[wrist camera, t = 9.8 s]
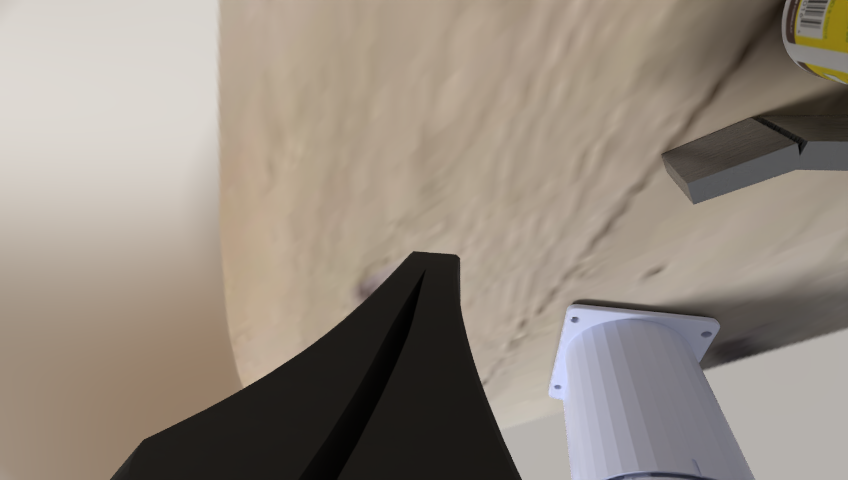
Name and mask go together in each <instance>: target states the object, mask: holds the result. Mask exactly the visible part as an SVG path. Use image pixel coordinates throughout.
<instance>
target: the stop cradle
mask: <svg viewBox="0 0 848 480" xmlns="http://www.w3.org/2000/svg"><path fill="white" fill-rule="evenodd" d="M661 155H662V158H663V161H664V164H665V167H666V170H667V173H668V174H669V175H670V176H671V178H672V179H673V180H674V181H675V183H676V184H677V185H678V186H679V187H680V189H681V190H682V191H683V192H684V194H685V195H686V196H687V197H688V198H689V200H690V201H691V202H692V203H693V204H697V203H700V202H703V201H706V200H708V199H711V198H714V197H717V196H720V195H723V194H726V193H729V192H732V191H735V190H738V189H741V188H744V187H747V186H750V185H752V184H755V183H758V182H761V181H764V180H767V179H770V178H773V177H776V176H779V175H782V174H785V173H788V172H791V171H794V170H842V171H848V115H838V116H759V117H758V119H757V121H756V120H754V119H752V118H749V119H746V120H744V121H741V122H739V123H736V124H734V125H732V126H729V127H727V128H724V129H722V130H719V131H717V132H715V133H712V134H710V135H707V136H705V137H702V138H700V139H698V140H695V141H693V142H690V143H688V144H686V145H683V146H681V147H678V148H676V149H673V150H671V151H669V152H666V153H664V154H661Z"/></svg>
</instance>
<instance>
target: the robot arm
mask: <svg viewBox="0 0 848 480" xmlns="http://www.w3.org/2000/svg"><path fill="white" fill-rule="evenodd" d="M572 317H577V318H572ZM719 329H720V325H719V323H718V321H717V320H716V319H714V318H709V317H699V316H689V315H680V314H670V313H660V312H650V311H640V310H630V309H620V308H611V307H601V306H591V305H581V304H573V305H570V306H569V307H568V308H567V312H566V316H565V320H564V325H563V329H562V333H561V338H560V342H559V346H558V351H557V355H556V359H555V364H554V368H553V372H552V377H551V381H550V385H549V396H550V397H552V398H555V399H561V400H563V404H564V413H565V422H566V431H567V440H568V450H569V458H570V468H571V477H572V480H755V478H754V476H753V474H752V472H751V470H750V468H749V466H748V464H747V462H746V460H745V458H744V456H743V453H742V451H741V449H740V447H739V445H738V443H737V441H736V439H735V437H734V435H733V433H732V431H731V429H730V427H729V425H728V422H727V420H726V418H725V417H724V414H723V412H722V410H721V408H720V406H719V404H718V402H717V400H716V398H715V396H714V394H713V392H712V390H711V388H710V385H709V383H708V381H707V379H706V377H705V375H704V373H703V371H702V369H701V367H700V365H699V363H700V361H701V359H702V358H703V356H704V354H705V353H706V351H707V349H708V348H709V346H710V344H711V343H712V341H713V339H714V338H715V336H716V334H717V333H718V331H719ZM705 331H706V332H705ZM110 480H522V479H521V477H520V475H519V473H518V471H517V468H516V466H515V464H514V462H513V460H512V457H511V455H510V453H509V451H508V448H507V446H506V444H505V442H504V439H503V437H502V435H501V432H500V430H499V427H498V425H497V422H496V420H495V417H494V415H493V412H492V410H491V407H490V405H489V403H488V400H487V398H486V395H485V392H484V389H483V386H482V384H481V381H480V378H479V375H478V372H477V369H476V366H475V363H474V360H473V356H472V353H471V350H470V346H469V342H468V338H467V334H466V330H465V326H464V322H463V317H462V312H461V306H460V258H459V257H458V256H457V255H454V254H441V253H429V252H416V251H413V252H412V253H411V254H410V255H409V256H408V257H407V258H406V259H405V260H404V261H403V262H402V264H401V265H400V266H399V267H398V268H397V269H396V270H395V271H394V272H393V273H392V274H391V275H390V276H389V277H388V278H387V279H386V280H385V281H384V282H383V283H382V284H381V285H380V286H379V287H378V288H377V289H376V290H375V291H374V292H373V293H372V294H371V295H370V296H369V297H368V298H367V299H366V300H365V301H364V302H363V303H362V304H361V305H360V306H358V307H357V308H356V309H355V310H354V311H353V312H352V313H351V314H349V315H348V316H347V317H346V318H345V319H344V320H343V321H341V322H340V323H339V324H338V325H337V326H335V327H334V328H333V329H332V330H331V331H329V332H328V333H327V334H325V335H324V336H323V337H322V338H320V339H319V340H318V341H316V342H315V343H314V344H312V345H311V346H310V347H308V348H307V349H305V350H304V351H302V352H301V353H300V354H298V355H297V356H295V357H294V358H292V359H290V360H289V361H287V362H286V363H284V364H283V365H281V366H280V367H278V368H277V369H275V370H274V371H272V372H271V373H269V374H268V375H266V376H264V377H263V378H261V379H259V380H258V381H256V382H254V383H252V384H251V385H249V386H247V387H246V388H244V389H242V390H240V391H239V392H237V393H235V394H233V395H231V396H230V397H228V398H226V399H224V400H223V401H221V402H219V403H217V404H215V405H213V406H211V407H209V408H208V409H206V410H204V411H202V412H200V413H198V414H196V415H194V416H191V417H190V418H187V419H186V420H183V421H181V422H179V423H177V424H175V425H173V426H171V427H169V428H167V429H165V430H163V431H161V432H159V433H157V434H155V435H153V436H151V437H148V438H146V439H144V440H143V441H142V442H141V443H140V445H139V446H138V447H137V448H136V449H135V450H134V452H133V453H132V454H131V455H130V456H129V457H128V459H127V460H126V461H125V463H124V464H123V465H122V466H121V467H120V468H119V469H118V471H117V472H116V473H115V474H114V475H113V477H112V478H111V479H110Z"/></svg>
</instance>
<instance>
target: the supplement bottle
mask: <svg viewBox="0 0 848 480" xmlns="http://www.w3.org/2000/svg"><path fill="white" fill-rule="evenodd" d="M782 38H783V42H784V46H785V48H786V50H787V53H788V54H789V56H790V57H791V59H792V60H793V61H794V62H795V63H796V64H797V65H798V66H799V67H801V68H802V69H804V70H805V71H807V72H809V73H811V74H813V75H816V76H819V77H822V78H825V79H828V80H832V81H835V82H839V83H843V84H847V85H848V0H786V3H785V7H784V11H783V17H782Z"/></svg>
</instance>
